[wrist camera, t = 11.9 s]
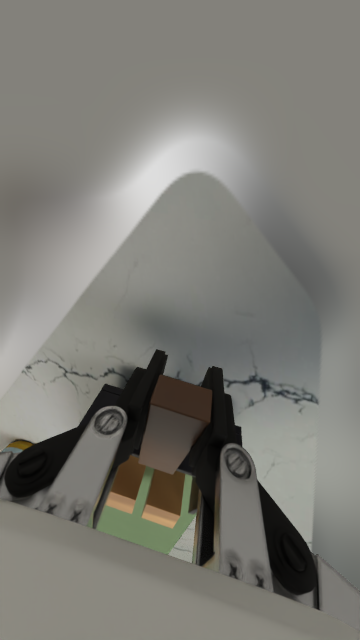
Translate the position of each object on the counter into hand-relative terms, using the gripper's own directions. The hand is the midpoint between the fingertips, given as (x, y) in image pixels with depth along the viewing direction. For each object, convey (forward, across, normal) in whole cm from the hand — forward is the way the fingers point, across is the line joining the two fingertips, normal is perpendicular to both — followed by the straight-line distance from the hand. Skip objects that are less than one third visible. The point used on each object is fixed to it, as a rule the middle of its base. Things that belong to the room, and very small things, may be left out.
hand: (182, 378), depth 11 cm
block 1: (+3, +3, +20) cm, 20 cm away
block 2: (+3, -2, +20) cm, 20 cm away
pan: (+3, 0, +8) cm, 9 cm away
